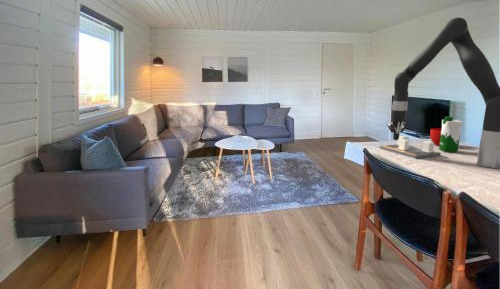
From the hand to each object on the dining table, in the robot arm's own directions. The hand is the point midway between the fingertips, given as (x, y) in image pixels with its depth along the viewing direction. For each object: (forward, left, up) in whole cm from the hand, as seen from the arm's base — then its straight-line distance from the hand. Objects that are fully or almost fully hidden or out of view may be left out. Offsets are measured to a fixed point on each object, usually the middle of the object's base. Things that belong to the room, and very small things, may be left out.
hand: (395, 139), depth 165 cm
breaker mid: (0, -6, -6) cm, 9 cm away
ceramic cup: (+5, -45, -8) cm, 46 cm away
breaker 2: (-9, -14, -6) cm, 18 cm away
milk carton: (-7, -33, -8) cm, 35 cm away
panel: (0, -10, -8) cm, 13 cm away
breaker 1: (+9, -14, -6) cm, 18 cm away
